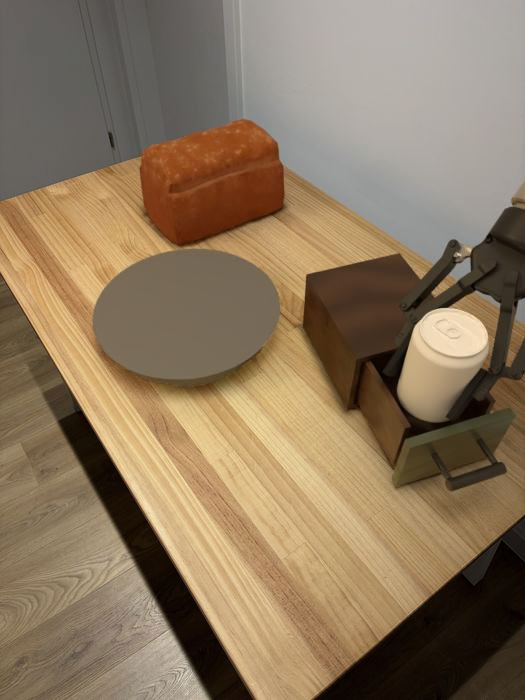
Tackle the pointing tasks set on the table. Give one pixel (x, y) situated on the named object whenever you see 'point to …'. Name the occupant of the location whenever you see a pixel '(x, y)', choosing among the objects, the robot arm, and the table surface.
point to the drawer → (430, 432)
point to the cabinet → (356, 316)
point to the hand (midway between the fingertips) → (418, 395)
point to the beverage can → (441, 362)
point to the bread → (211, 180)
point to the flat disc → (186, 316)
